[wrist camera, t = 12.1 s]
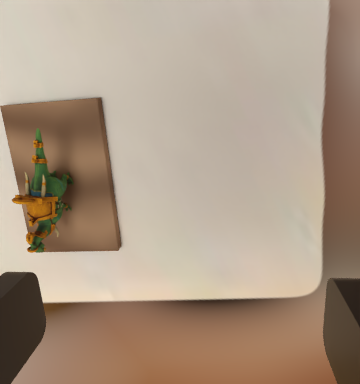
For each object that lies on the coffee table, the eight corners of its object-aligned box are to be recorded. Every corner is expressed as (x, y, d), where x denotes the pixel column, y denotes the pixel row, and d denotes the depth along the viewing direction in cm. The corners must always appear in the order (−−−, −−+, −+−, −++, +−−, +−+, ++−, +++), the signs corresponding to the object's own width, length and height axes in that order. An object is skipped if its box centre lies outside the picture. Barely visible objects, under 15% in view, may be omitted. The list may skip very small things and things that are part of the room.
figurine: (48, 231, 37) (3, 269, 30) (47, 120, 34) (-5, 130, 26) (75, 235, 37) (37, 274, 29) (77, 124, 34) (34, 135, 26)
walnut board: (7, 105, 35) (0, 105, 34) (101, 97, 34) (96, 98, 33) (37, 247, 40) (32, 252, 38) (121, 245, 38) (118, 250, 37)
